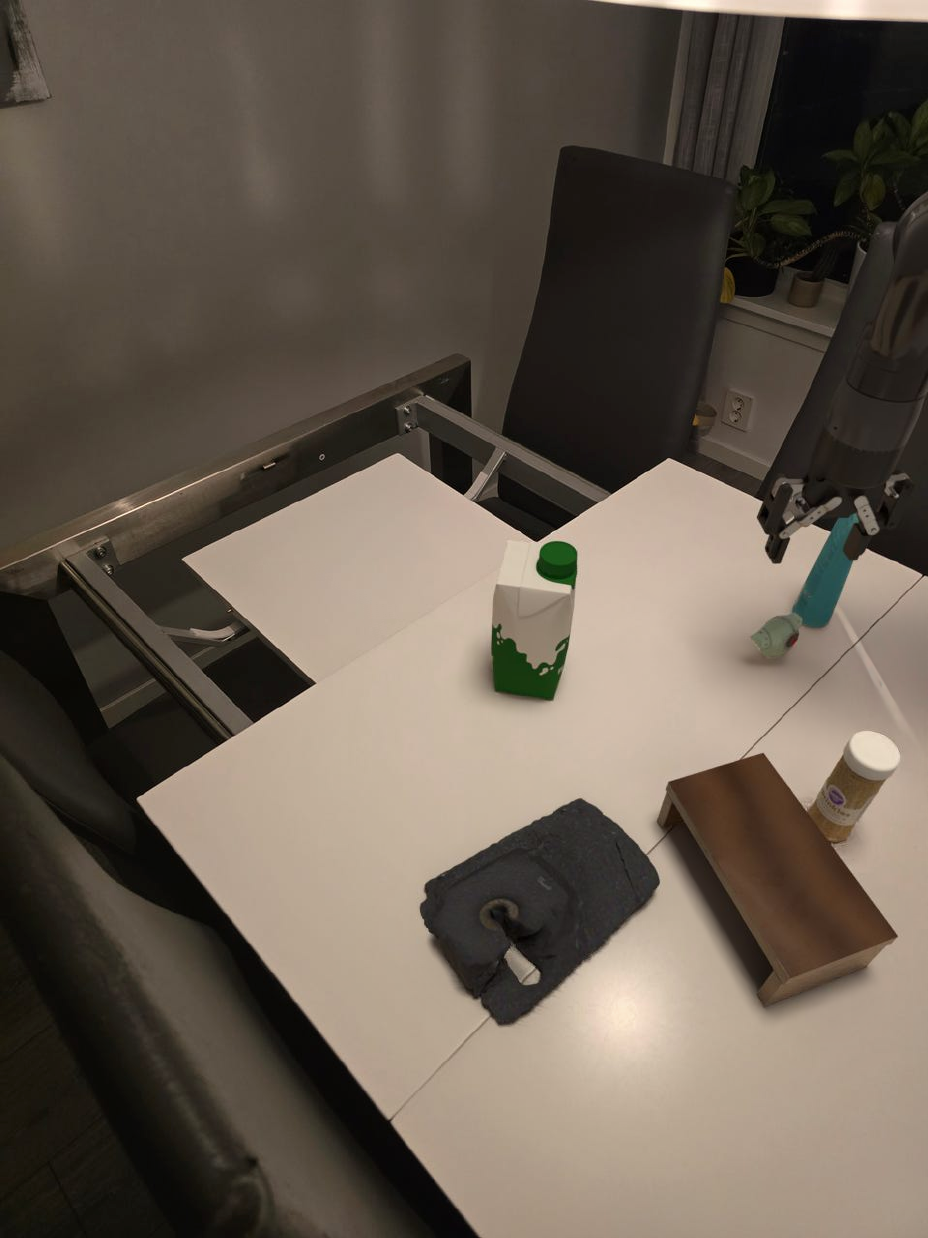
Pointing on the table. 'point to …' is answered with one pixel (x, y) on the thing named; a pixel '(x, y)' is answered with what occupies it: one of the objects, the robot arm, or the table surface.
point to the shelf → (779, 874)
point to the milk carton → (533, 617)
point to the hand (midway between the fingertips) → (811, 557)
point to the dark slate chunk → (537, 902)
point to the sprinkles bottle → (854, 783)
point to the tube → (826, 578)
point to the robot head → (777, 635)
